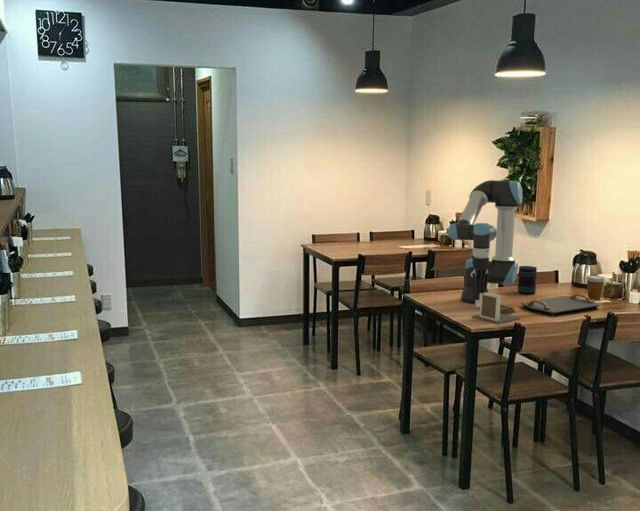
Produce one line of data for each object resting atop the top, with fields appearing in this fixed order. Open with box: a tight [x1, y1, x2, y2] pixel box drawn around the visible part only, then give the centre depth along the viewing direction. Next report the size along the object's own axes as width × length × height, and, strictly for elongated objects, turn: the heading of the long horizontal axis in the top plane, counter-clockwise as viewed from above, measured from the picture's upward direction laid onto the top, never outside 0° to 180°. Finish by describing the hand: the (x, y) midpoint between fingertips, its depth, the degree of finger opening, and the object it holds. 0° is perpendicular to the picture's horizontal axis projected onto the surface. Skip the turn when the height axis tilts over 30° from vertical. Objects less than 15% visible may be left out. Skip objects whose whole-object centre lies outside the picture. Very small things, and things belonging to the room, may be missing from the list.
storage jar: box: [517, 265, 538, 296], centre depth 355 cm, size 10×10×15 cm
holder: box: [500, 304, 516, 315], centre depth 317 cm, size 14×8×3 cm, turn 38°
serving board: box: [520, 293, 601, 317], centre depth 322 cm, size 39×23×6 cm, turn 118°
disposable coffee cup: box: [585, 275, 606, 300], centre depth 344 cm, size 10×10×12 cm
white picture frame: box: [479, 292, 502, 321], centre depth 299 cm, size 10×2×12 cm, turn 38°
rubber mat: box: [471, 313, 521, 325], centre depth 303 cm, size 16×16×1 cm
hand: (478, 306), depth 293 cm, fingers closed
